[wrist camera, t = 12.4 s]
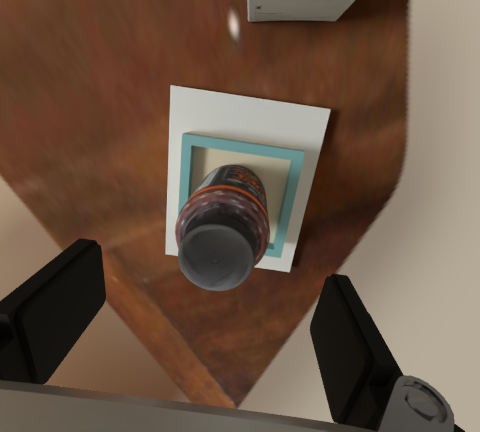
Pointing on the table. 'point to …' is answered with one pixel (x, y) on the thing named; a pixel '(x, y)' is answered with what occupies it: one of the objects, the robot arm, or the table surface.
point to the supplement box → (296, 10)
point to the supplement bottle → (223, 229)
